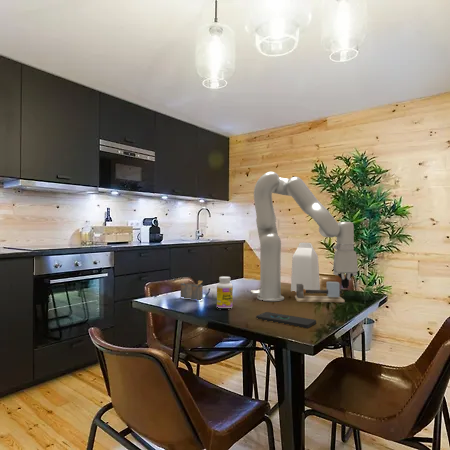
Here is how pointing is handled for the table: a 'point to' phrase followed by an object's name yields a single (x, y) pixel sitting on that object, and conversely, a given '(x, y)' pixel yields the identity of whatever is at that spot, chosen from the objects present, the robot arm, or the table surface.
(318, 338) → the table surface
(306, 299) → the board
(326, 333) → the table surface
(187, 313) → the table surface
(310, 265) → the milk
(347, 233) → the robot arm
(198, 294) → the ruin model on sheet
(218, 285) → the supplement bottle
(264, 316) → the dark grey flat block
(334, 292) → the sleeve
